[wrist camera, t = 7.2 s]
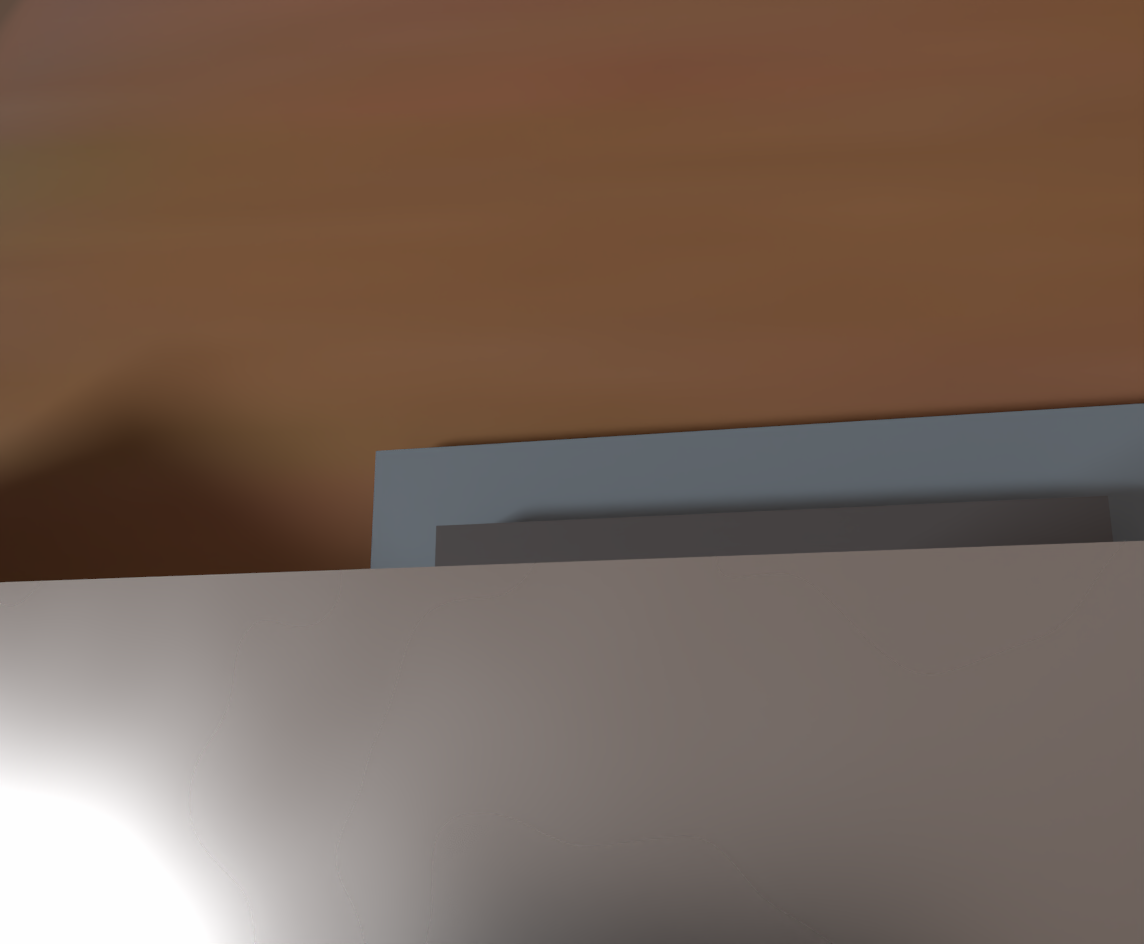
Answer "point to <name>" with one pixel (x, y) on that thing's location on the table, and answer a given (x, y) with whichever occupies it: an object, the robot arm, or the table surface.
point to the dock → (768, 490)
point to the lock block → (582, 752)
